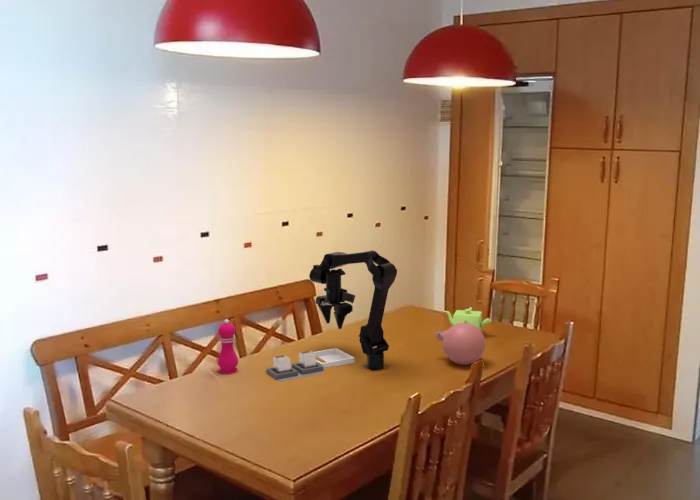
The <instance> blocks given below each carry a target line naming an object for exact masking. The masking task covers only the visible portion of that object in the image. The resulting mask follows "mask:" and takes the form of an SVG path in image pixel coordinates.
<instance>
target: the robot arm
mask: <svg viewBox="0 0 700 500" xmlns="http://www.w3.org/2000/svg"><path fill="white" fill-rule="evenodd" d="M361 263H364V264H365V265H366V268H367V270H368V271H369V273H370V274H371V277H372V283H373V285H374V290H373V295H372V299H371V305H370V311H369V315H368V319H367V323H366V324H365V325H361V326H360V328H359V329H360V330H359V331H360V332H359V335H358V337H359V343H360V347H361V350H362V354H364V355H366V358H367V359H366V365H364V366H363V368H366V369H368V370H369V371H373V372H375V371H379V370H380V371H381V370H384V369H388V367H387V366H385V363H384V361H385V352H387V351H388V350H389V349H390V346H389V343H388V342H387V340H386V339H385V338H384V329H383V326H382V322H383V318H384V313H385V307H386V304H387V299H388V294H389V293H388V292H389V290H390V288H391V287H392V285H393V284H394V283H395V280H396V277H397V274H398V269H397V268H396V266H395V265H394V264H393V263H392V262H391V261H390V260H389V259H387V258H385V257H384V256H381V254H379V253H378V252H377V251H376V250H374V249H373V250H369V251H361V252H353V253H346V252H343V251H341V252H340V251H336V252H330V253H325V254H324V256H323V259H322V261H321V262H320V264H313V265H312V269H311V270H310V272H309V280H310V281H311V282H312V283H316V284H321V285H325V287H324V288H323V291H324V292H325V295H324V294H323V295H318V296H316V298H315V304H316V305H317V307H318V309H319V310H320V312H321V315H322V317H323V318H324V320H325V322H326V324H330V322H331V316H332V315H331V314H332V309H333V315H334V319H335V322H336V326H337V329H338V330H341V329H342V328H343V325H344V323H345V322H344V321H345V319H346V317H347V315H349V314H351V313H352V312H353V311H354V310H353V309H354V308H353V305H352V304H354V302H355V298H356V295H355V294H353V293H349V292H348V289H346V288H342V276H345V275H346V272H345V271H344V270H343V269H342V267H344V266H346V265H353V264H361Z"/></svg>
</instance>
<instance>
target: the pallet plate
mask: <svg viewBox="0 0 700 500" xmlns="http://www.w3.org/2000/svg"><path fill="white" fill-rule="evenodd" d="M264 372H265V374H267V375H268V376H270V377H272V378H273V379H274V380H275V381H278V382H283V381H288V380H294V379H298V378H304V377H309V376H314V375H315V376H316V375H320V374H325V373H326V372H325V371H324V368H323V366H322V365H320V364H318V363H316V367H313V368H307V369H303V368H301V367H299V362H296V363H295V362H294V363H291V372H286V373H281V374H277V373H275V372H274V368H273V367H268V368H266V371H265V370H264Z"/></svg>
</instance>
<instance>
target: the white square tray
mask: <svg viewBox="0 0 700 500" xmlns="http://www.w3.org/2000/svg"><path fill="white" fill-rule="evenodd" d="M312 352H313V353H315V354H316V358H319V359H320V360H322V361H324V362H321V361H319V360H318V359H316V363H318V364H320V365H322V366H323V369H324V368H330V367H340V366H345V365H351V364H355V363H356V358H355V357H354V356H352V355H350V354H349V353H346V352H345V351H343V350H341V349H339V348H337V347H336V348H330V349H329V348H328V349H324V350H323V349H322V350H319V351H312Z"/></svg>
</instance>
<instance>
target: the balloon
mask: <svg viewBox="0 0 700 500" xmlns="http://www.w3.org/2000/svg"><path fill="white" fill-rule="evenodd" d="M434 335H435V338H436V339H437V340H439V341H440V342H441V341H442V346H443V347H442V348H443V350H444V353H445V355H446V356H447V358H448V359H449V360H451V361H452V362H453V363H455V364H458V365H463V366H467V365H471V364H475V363H476V362H478V361H479V360H480V359H481V357H482V356H483V354H484V352H485V349H486V339H485V336H484V334H483V332H482V330H481V331H480V329H479V328H477V327H476V326H474V325H472V324H470V323H458V324H455V325H451V326H450V327H449V328H448V329H447V330H446V329H445V330H443V331H437V332H435V333H434Z"/></svg>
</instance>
